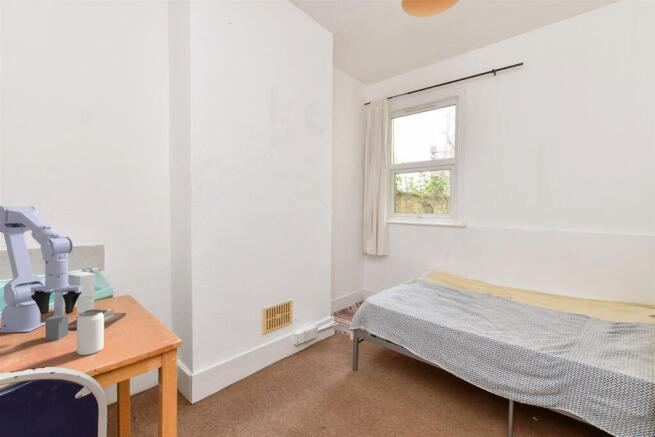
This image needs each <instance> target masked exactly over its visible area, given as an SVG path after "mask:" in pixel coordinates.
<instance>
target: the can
mask: <svg viewBox="0 0 655 437" xmlns="http://www.w3.org/2000/svg"><path fill="white" fill-rule="evenodd" d="M78 316H79V317H78ZM78 316H77V317H78V319H77V318H76V320H77V330H76V353H77V355H79V356H90V355H94V354H97V353H99V352H101V351H102V350H103V349H104V347H105V346H104V345H105V343H104V342H105V336H104V335H105V334H104V333H105V329H104V315H103V313H102V310H92V309H91V310H87V311H84V312H81V313H78Z"/></svg>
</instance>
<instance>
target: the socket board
mask: <svg viewBox="0 0 655 437" xmlns="http://www.w3.org/2000/svg"><path fill="white" fill-rule="evenodd" d="M91 310H102V313H103V315H104V330H105V329H107V328H108V327H110V326H112V325H113V324H115V323H116V322H117V321H119V320H120V319H122V318H124V317H126V316H127V312H114V311H115V309H114V308H113V309H110V308H109V309H104V308H103V309H102V308H101V309H100V308H99V309H95V308H94V309H91ZM78 317H79V315H77V316H76V319H75V320H73V321H71V322H68V331H71V330H72V331H74V330H75V331H77V319H78Z"/></svg>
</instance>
